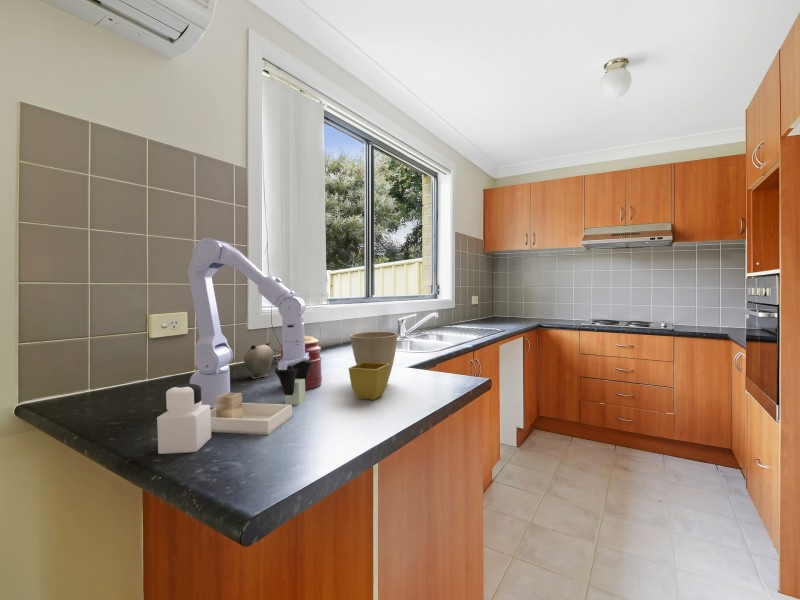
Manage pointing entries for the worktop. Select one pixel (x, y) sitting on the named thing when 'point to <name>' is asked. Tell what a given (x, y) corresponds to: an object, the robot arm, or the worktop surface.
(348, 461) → the worktop surface
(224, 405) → the maple block
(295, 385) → the sage block
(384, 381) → the flower pot
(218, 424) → the serving tray
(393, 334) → the plant pot
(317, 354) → the canister
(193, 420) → the medicine bottle
